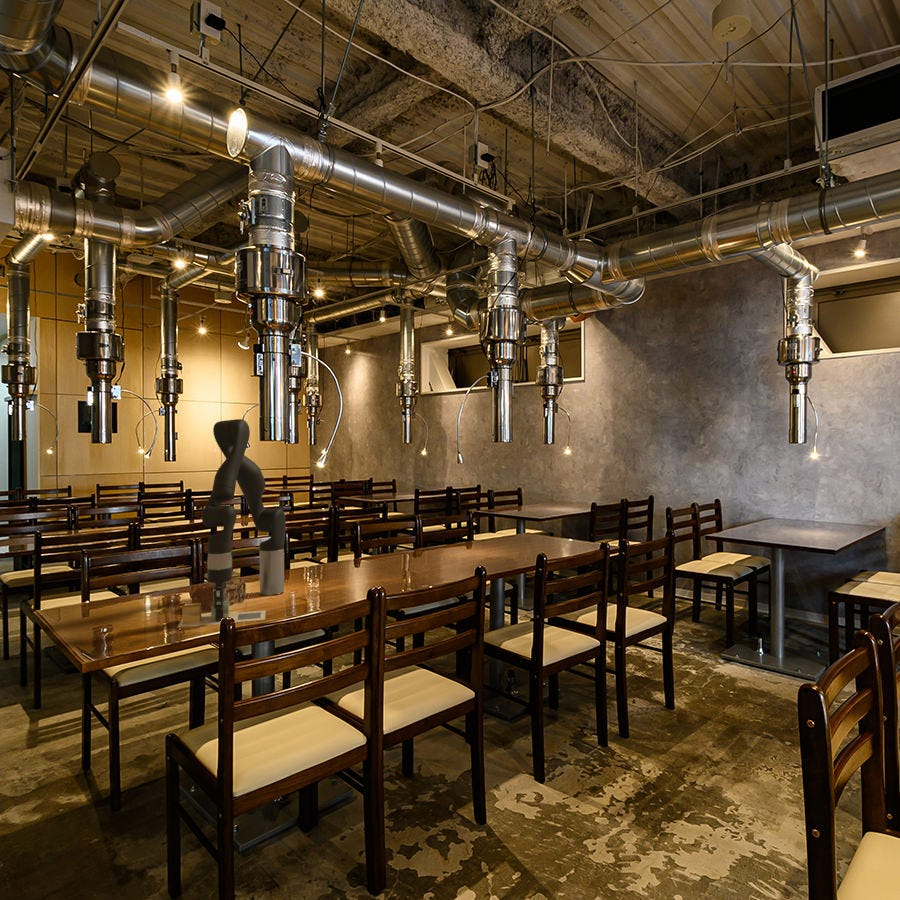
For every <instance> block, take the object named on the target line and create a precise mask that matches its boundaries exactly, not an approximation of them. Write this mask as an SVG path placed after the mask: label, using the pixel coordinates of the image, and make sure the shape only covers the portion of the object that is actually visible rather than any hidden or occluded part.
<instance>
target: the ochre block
mask: <svg viewBox="0 0 900 900" xmlns="http://www.w3.org/2000/svg"><path fill="white" fill-rule="evenodd" d="M181 614H182V616H181V617H182V618H181V620H182V624H188V623H199V622H200V620H201V616H202V611H201V603H197V604H192V603H187V604H183V606H182V609H181Z"/></svg>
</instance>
